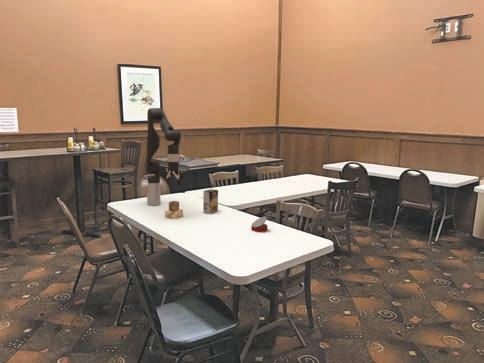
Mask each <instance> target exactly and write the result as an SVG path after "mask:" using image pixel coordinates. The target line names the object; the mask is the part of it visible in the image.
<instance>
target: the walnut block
mask: <svg viewBox="0 0 484 363" xmlns="http://www.w3.org/2000/svg"><path fill="white" fill-rule="evenodd" d="M179 209H180V201H177V200H171V201H168V210H169V211H173V212H176V211H179Z"/></svg>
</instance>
